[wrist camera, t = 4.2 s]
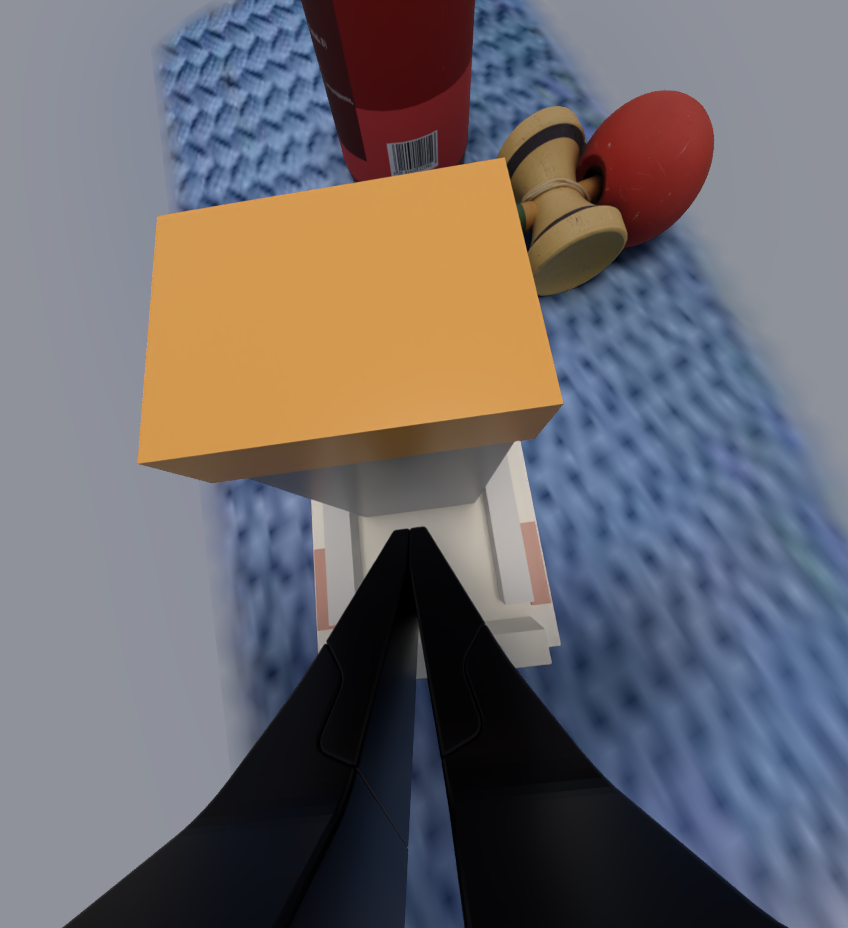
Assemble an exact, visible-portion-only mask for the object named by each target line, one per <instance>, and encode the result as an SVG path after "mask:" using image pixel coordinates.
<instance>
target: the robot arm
mask: <svg viewBox="0 0 848 928" xmlns="http://www.w3.org/2000/svg"><path fill="white" fill-rule="evenodd" d="M419 632H420V638H421V643H422V649H423V655H424V661H425V667H426V673H427V679H428V685H429V691H430V697H431V703H432V709H433V715H434V721H435V727H436V733H437V739H438V745H439V750H440V756H441V760H442V768H443V774H444V781H445V787H446V793H447V800H448V806H449V814H450V821H451V828H452V836H453V843H454V851H455V858H456V866H457V873H458V881H459V889H460V896H461V904H462V911H463V919H464V926H465V928H788V927H787V926H785V925H783V924H781V923H780V922H778V921H777V920H775V919H774V918H773V917H771V916H770V915H769V914H767V913H766V912H765V911H763V910H762V909H761V908H759V907H758V906H757V905H755V904H754V903H753V902H751V901H750V900H749V899H748V898H747V897H746V896H744V895H743V894H742V893H741V892H740V891H738V890H737V889H736V888H735V887H734V886H732V885H731V884H730V883H729V882H728V881H726V880H725V879H724V878H723V877H722V876H721V875H719V874H718V873H717V872H716V871H715V870H713V869H712V868H711V867H710V866H709V865H707V864H706V863H705V862H704V861H703V860H701V859H700V858H699V857H698V856H697V855H696V854H694V853H693V852H692V851H691V850H690V849H688V848H687V847H686V846H685V845H684V844H682V843H681V842H680V841H679V840H678V839H676V838H675V837H674V836H673V835H672V834H671V833H669V832H668V831H667V830H666V829H665V828H663V827H662V826H661V825H660V824H659V823H657V822H656V821H655V820H654V819H653V818H651V817H650V816H649V815H648V814H647V813H646V812H644V811H643V810H642V809H641V808H640V807H638V806H637V805H636V804H635V803H634V802H632V801H631V800H630V799H629V798H628V797H626V796H625V795H624V794H623V793H622V792H621V791H619V790H618V789H617V788H616V787H615V786H614V785H613V784H612V783H611V782H610V781H609V780H608V779H607V778H606V777H605V776H604V775H603V774H602V773H601V772H600V771H599V770H598V769H597V768H596V767H595V766H594V765H593V763H592V762H591V761H590V760H589V759H588V758H587V757H586V756H585V754H584V753H583V752H582V751H581V750H580V748H579V747H578V746H577V745H576V744H575V742H574V741H573V740H572V739H571V737H570V736H569V735H568V734H567V732H566V731H565V730H564V729H563V727H562V726H561V725H560V724H559V722H558V721H557V720H556V719H555V717H554V716H553V715H552V714H551V712H550V711H549V710H548V709H547V708H546V706H545V705H544V704H543V703H542V701H541V700H540V699H539V698H538V696H537V695H536V694H535V693H534V691H533V690H532V689H531V688H530V686H529V685H528V684H527V683H526V681H525V680H524V679H523V677H522V676H521V675H520V673H519V672H518V671H517V669H516V668H515V667H514V665H513V664H512V663H511V661H510V660H509V658H508V657H507V655H506V654H505V652H504V651H503V649H502V648H501V646H500V645H499V643H498V642H497V640H496V639H495V637H494V636H493V634H492V632H491V631H490V629H489V628H488V626H487V625H485V621H484V620H483V618H482V617H481V615H480V613H479V612H478V610H477V609H476V607H475V605H474V604H473V602H472V600H471V599H470V597H469V596H468V594H467V592H466V591H465V589H464V588H463V586H462V584H461V583H460V581H459V579H458V578H457V576H456V575H455V573H454V571H453V570H452V568H451V567H450V565H449V563H448V562H447V560H446V558H445V557H444V555H443V554H442V552H441V550H440V549H439V547H438V546H437V544H436V542H435V541H434V539H433V537H432V536H431V534H430V533H429V531H428V529H427V528H426V527H425V526H421V527H413V528H411V529H410V530H409V529H408V528H405V529H398V530H394V531H393V532H392V534H391V536H390V537H389V539H388V540H387V542H386V544H385V545H384V547H383V549H382V550H381V552H380V554H379V555H378V557H377V558H376V560H375V562H374V563H373V565H372V567H371V568H370V570H369V572H368V573H367V575H366V576H365V578H364V580H363V581H362V583H361V585H360V586H359V588H358V590H357V591H356V593H355V595H354V596H353V598H352V599H351V601H350V603H349V604H348V606H347V608H346V609H345V611H344V613H343V614H342V616H341V617H340V619H339V621H338V622H337V624H336V626H335V627H334V629H333V631H332V632H331V634H330V635H329V637H328V639H327V640H326V643H327V644H324V645H323V647H322V648H321V650H320V652H319V653H318V655H317V657H316V658H315V660H314V661H313V663H312V664H311V666H310V668H309V669H308V671H307V672H306V674H305V675H304V677H303V678H302V680H301V681H300V683H299V685H298V686H297V687H296V689H295V690H294V692H293V693H292V694H291V696H290V697H289V699H288V700H287V701H286V703H285V704H284V706H283V707H282V708H281V710H280V711H279V713H278V714H277V715H276V717H275V718H274V719H273V721H272V722H271V723H270V725H269V726H268V727H267V729H266V730H265V731H264V733H263V734H262V735H261V737H260V738H259V740H258V741H257V742H256V744H255V745H254V746H253V748H252V749H251V750H250V752H249V753H248V754H247V756H246V757H245V758H244V760H243V761H242V762H241V764H240V765H239V766H238V768H237V769H236V771H235V772H234V773H233V775H232V776H231V777H230V779H229V780H228V781H227V783H226V784H225V785H224V787H223V788H222V789H221V790H220V792H219V793H218V794H217V795H216V796H215V798H214V799H213V800H212V801H211V802H210V803H209V804H208V806H207V807H206V808H205V809H204V810H203V811H202V812H201V813H200V814H199V815H198V816H197V817H196V818H195V819H194V820H193V821H192V822H191V823H190V824H189V825H188V826H187V827H186V828H185V829H184V830H183V831H181V832H180V833H179V834H178V835H177V836H175V837H174V838H173V839H172V840H170V841H169V842H168V843H167V844H166V845H164V846H163V847H162V848H161V849H159V850H158V851H157V852H156V853H154V854H153V855H152V856H151V857H149V858H148V859H147V860H146V861H145V862H143V863H142V864H141V865H139V866H138V867H137V868H136V869H134V870H133V871H132V872H131V873H130V874H129V875H127V876H126V877H125V878H123V879H122V880H121V881H120V882H118V884H116V885H115V886H113V887H112V888H111V889H110V890H109V891H107V892H106V893H105V894H104V895H102V896H101V897H100V898H99V899H97V900H96V901H95V902H94V903H92V904H91V905H90V906H89V907H87V908H86V909H85V910H84V911H82V912H81V913H80V914H79V915H78V916H76V917H75V918H74V919H73V920H71V921H70V922H69V923H68V924H66V925H65V926H64V927H63V928H404V924H405V903H406V883H407V862H408V848H407V846H408V840H409V819H410V799H411V778H412V757H413V737H414V716H415V695H416V675H417V654H418V633H419Z"/></svg>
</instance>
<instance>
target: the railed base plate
mask: <svg viewBox="0 0 848 928" xmlns="http://www.w3.org/2000/svg"><path fill="white" fill-rule="evenodd" d="M311 504H312V527H313V550H314V572H315V595H316V618H317V640H318V653H319V652H320V650H321V648H322V647H323V645H324V644H327V643H326V640H327V639H328V637H329V635H330V634H331V632H332V631H333V629H334V627H335V626H336V624H337V622H338V621H339V619H340V617H341V616H342V614H343V613H344V611H345V609H346V608H347V606H348V604H349V603H350V601H351V599H352V598H353V596H354V595H355V593H356V591H357V590H358V588H359V586H360V585H361V583H362V581H363V580H364V578H365V576H366V575H367V573H368V572H369V570H370V568H371V567H372V565H373V563H374V562H375V560H376V558H377V557H378V555H379V554H380V552H381V550H382V549H383V547H384V545H385V544H386V542H387V540H388V539H389V537H390V536H391V534H392V532H393V531H394V530H398V529H405V528H408V529H409V530H410V529H411V528H413V527H421V526H425V527H426V528H427V529H428V531H429V533H430V534H431V536H432V537H433V539H434V541H435V542H436V544H437V546H438V547H439V549H440V550H441V552H442V554H443V555H444V557H445V558H446V560H447V562H448V563H449V565H450V567H451V568H452V570H453V571H454V573H455V575H456V576H457V578H458V579H459V581H460V583H461V584H462V586H463V588H464V589H465V591H466V592H467V594H468V596H469V597H470V599H471V600H472V602H473V604H474V605H475V607H476V609H477V610H478V612H479V613H480V615H481V617H482V618H483V620H484V621H485V625H487V626H488V628H489V629H490V631H491V632H492V634H493V636H494V637H495V639H496V640H497V642H498V643H499V645H500V646H501V648H502V649H503V651H504V652H505V654H506V655H507V657H508V658H509V660H510V661H511V663H512V664H513V665H514V667H515V668H521V667H530V666H539V665H548V664H552V662H551V656H550V651H549V647H553V646H561V643H560V638H559V633H558V628H557V623H556V618H555V613H554V608H553V603H552V598H551V593H550V588H549V583H548V578H547V573H546V568H545V563H544V558H543V553H542V548H541V543H540V538H539V533H538V528H537V523H536V518H535V513H534V508H533V503H532V497H531V492H530V487H529V482H528V477H527V472H526V467H525V462H524V457H523V452H522V447H521V442H520V441H515V442H514V443H513V445H512V446H511V448H510V450H509V451H508V453H507V454H506V456H505V457H504V459H503V460H502V462H501V463H500V465H499V467H498V468H497V470H496V471H495V473H494V474H493V476H492V477H491V479H490V480H489V482H488V484H487V485H486V487H485V488H484V490H483V491H482V493H481V494H480V496H479V497H478V499H477V501H476V502H475V503H471V504H463V505H456V506H448V507H441V508H433V509H425V510H418V511H410V512H402V513H395V514H387V515H379V516H372V517H363V516H360V515H357V514H354V513H351V512H348V511H345V510H342V509H339V508H336V507H333V506H330V505H327V504H324V503H321V502H318V501H315V500H312V499H311ZM423 678H427V673H426V667H425V661H424V655H423V649H422V643H421V638H420V632H419V633H418V654H417V675H416V679H423Z"/></svg>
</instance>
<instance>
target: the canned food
mask: <svg viewBox="0 0 848 928" xmlns="http://www.w3.org/2000/svg"><path fill="white" fill-rule="evenodd" d="M301 1H302V5H303V9H304V12H305V16H306V20H307V23H308V27H309V31H310V34H311V38H312V42H313V45H314V49H315V53H316V56H317V60H318V64H319V67H320V71H321V75H322V78H323V82H324V86H325V89H326V93H327V97H328V100H329V104H330V108H331V111H332V115H333V119H334V122H335V126H336V130H337V133H338V137H339V141H340V144H341V148H342V152H343V155H344V159H345V162H346V165H347V167H348V169H349V171H350V173H351V174H352V176H353V178H354V179H355V181H356V182H362V181H368V180H374V179H380V178H386V177H392V176H398V175H404V174H410V173H416V172H421V171H427V170H433V169H439V168H445V167H451V166H457V165H461V162H462V159H463V156H464V153H465V149H466V145H467V141H468V122H469V103H470V84H471V65H472V46H473V27H474V8H475V0H301Z"/></svg>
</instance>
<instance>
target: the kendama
mask: <svg viewBox="0 0 848 928" xmlns="http://www.w3.org/2000/svg"><path fill="white" fill-rule="evenodd" d="M584 142H585V135H584V131H583V128H582V126H581V124H580V122H579V121H578V119H577V117H576V115H575V114H574V113H573V112H572V111H571V110H570V109H568V108H566V107H561V106H556V107H548V108H545V109H542V110H540V111H537V112H536V113H534V114H532V115H531V116H529V117H528V118H527V119H525V120H524V121H523V122H521V123H520V124H519V125H518V126H517V127H516V128H515V129H514V131H513V132H512V133H511V134H510V136H509V137H508V138H507V140H506V141H505V143H504V144H503V146H502V148H501V150H500V152H499V154H498V157H497V159H498V158H504V157H505V160H506V165H507V169H508V173H509V177H510V181H511V186H512V190H513V194H514V198H515V203H516V207H517V211H518V215H519V219H520V224H521V228H522V232H523V235H524V234H525V233H527V232H529V231H531V230H532V241H531V246H530V249H529V250H528V257H529V261H530V266H531V270H532V274H533V278H534V282H535V287H536V291H537V295H540V296H543V295H544V296H546V295H554V294H557V293H559V292H564V291H567V290H570V289H573V288H575V287H577V286H579V285H581V284H583V283H585V282H586V281H588V280H590V279H591V278H593V277H595V276H596V275H597V274H599V273H600V272H601V271H603V270H604V269H605V268H606V267H607V266H608V265H610V264H611V263H612V262H613V261H614V260H615V259H616V257H617V256H618V255H619V254H620V252H621V251H622V250H623V248H627V247H632V246H636V245H639V244H642V243H644V242H647V241H649V240H651V239H653V238H654V237H656V236H658V235H659V234H661V233H662V232H664V231H665V230H667V229H668V228H669V227H670V226H672V225H673V224H674V223H675V222H676V221H677V220H678V219H679V218H680V217H681V216H682V215H683V214H684V213H685V212H686V210H687V209H688V208H689V207H690V205H691V204H692V203H693V201H694V200H695V198H696V197H697V195H698V193H699V192H700V190H701V188H702V186H703V184H704V182H705V180H706V178H707V175H708V172H709V169H710V166H711V162H712V157H713V150H714V134H713V128H712V124H711V121H710V118H709V116H708V114H707V112H706V111H705V109H704V108H703V106H702V105H701V104H700V103H699V102H698V101H697V100H695V99H694V98H692V97H690V96H689V95H687V94H684V93H681V92H677V91H655V92H651V93H647V94H644V95H642V96H639V97H637V98H635V99H633V100H631V101H629V102H628V103H626V104H624V105H623V106H621V107H620V108H619V109H617V110H616V111H615V112H614V113H613V114H611V115H610V116H609V117H608V118H607V119H606V120H605V121H604V122H603V123H602V124H601V125H600V127H599V128H598V129H597V130H596V132H595V133H594V134H593V136H592V137H591V139H590V140H589V141H588V143H587V144H586V143H584Z"/></svg>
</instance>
